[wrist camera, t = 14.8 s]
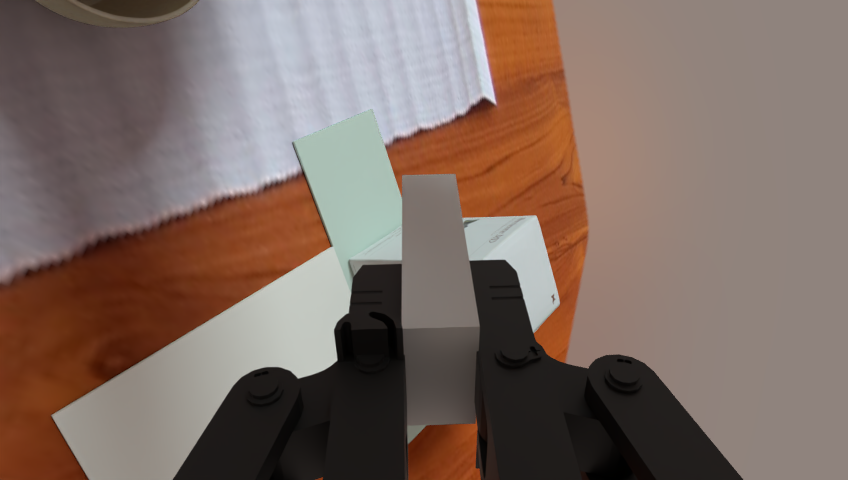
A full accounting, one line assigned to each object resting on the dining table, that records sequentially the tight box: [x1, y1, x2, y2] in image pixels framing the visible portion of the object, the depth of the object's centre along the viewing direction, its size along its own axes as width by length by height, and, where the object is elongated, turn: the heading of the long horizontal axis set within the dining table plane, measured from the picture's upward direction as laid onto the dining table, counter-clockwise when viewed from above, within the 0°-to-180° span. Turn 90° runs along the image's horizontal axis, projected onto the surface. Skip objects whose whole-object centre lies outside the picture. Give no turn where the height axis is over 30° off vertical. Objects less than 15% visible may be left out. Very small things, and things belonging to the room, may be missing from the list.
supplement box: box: [349, 216, 560, 333], centre depth 44 cm, size 7×7×13 cm
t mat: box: [51, 109, 426, 480], centre depth 42 cm, size 28×26×1 cm
